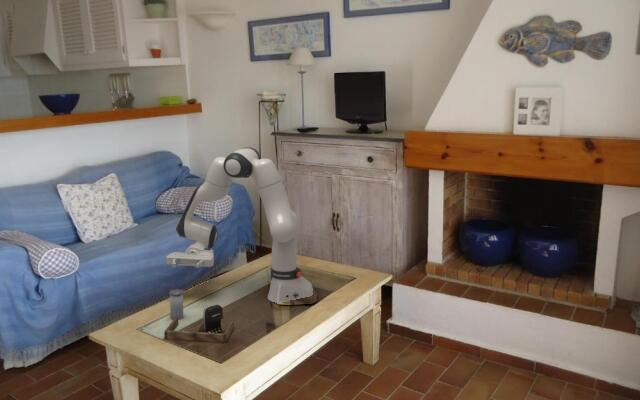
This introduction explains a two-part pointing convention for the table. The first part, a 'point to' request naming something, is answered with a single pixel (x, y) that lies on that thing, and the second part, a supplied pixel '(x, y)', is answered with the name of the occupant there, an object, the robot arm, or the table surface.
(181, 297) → the canister
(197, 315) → the table surface
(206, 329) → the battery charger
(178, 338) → the dock
